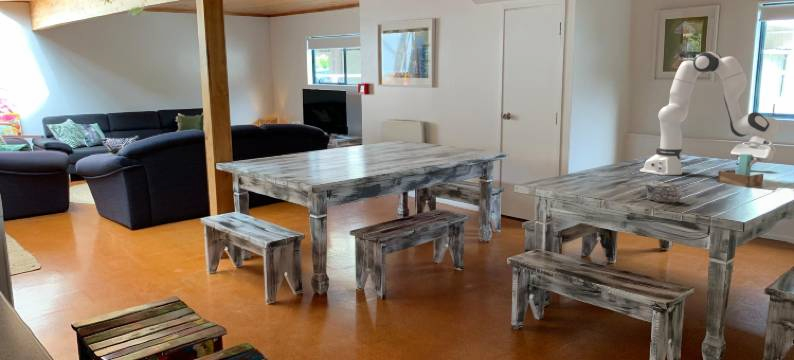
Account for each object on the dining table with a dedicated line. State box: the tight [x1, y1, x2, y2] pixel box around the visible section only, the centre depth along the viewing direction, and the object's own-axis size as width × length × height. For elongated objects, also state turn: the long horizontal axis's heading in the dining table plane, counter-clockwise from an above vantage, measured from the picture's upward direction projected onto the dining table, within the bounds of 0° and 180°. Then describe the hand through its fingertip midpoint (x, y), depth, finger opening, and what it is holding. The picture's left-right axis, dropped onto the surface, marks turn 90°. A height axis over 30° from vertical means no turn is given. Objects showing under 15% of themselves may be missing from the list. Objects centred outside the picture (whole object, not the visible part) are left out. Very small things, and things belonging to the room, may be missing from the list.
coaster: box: [755, 184, 778, 193], centre depth 311 cm, size 8×9×1 cm
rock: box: [644, 181, 682, 204], centre depth 284 cm, size 16×8×10 cm, turn 49°
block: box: [737, 154, 752, 176], centre depth 321 cm, size 4×4×12 cm
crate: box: [717, 168, 764, 188], centre depth 321 cm, size 12×16×6 cm
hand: (744, 164), depth 321 cm, fingers closed on block, 4 cm apart
